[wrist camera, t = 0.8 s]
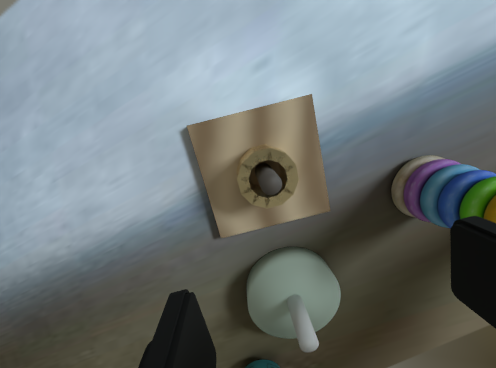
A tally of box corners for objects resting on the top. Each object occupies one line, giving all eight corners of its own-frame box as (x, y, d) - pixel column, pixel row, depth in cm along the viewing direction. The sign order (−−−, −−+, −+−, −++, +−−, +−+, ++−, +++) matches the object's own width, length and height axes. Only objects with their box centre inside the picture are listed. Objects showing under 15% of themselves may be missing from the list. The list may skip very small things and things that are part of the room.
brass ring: (283, 139, 26) (291, 142, 22) (293, 188, 28) (302, 199, 24) (231, 152, 26) (231, 157, 22) (244, 201, 28) (246, 213, 24)
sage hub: (324, 237, 31) (359, 282, 22) (336, 308, 34) (372, 373, 25) (236, 259, 31) (237, 312, 22) (257, 328, 34) (265, 399, 25)
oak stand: (308, 95, 26) (335, 85, 19) (327, 208, 30) (354, 233, 23) (188, 125, 26) (172, 126, 19) (221, 234, 30) (217, 267, 23)
